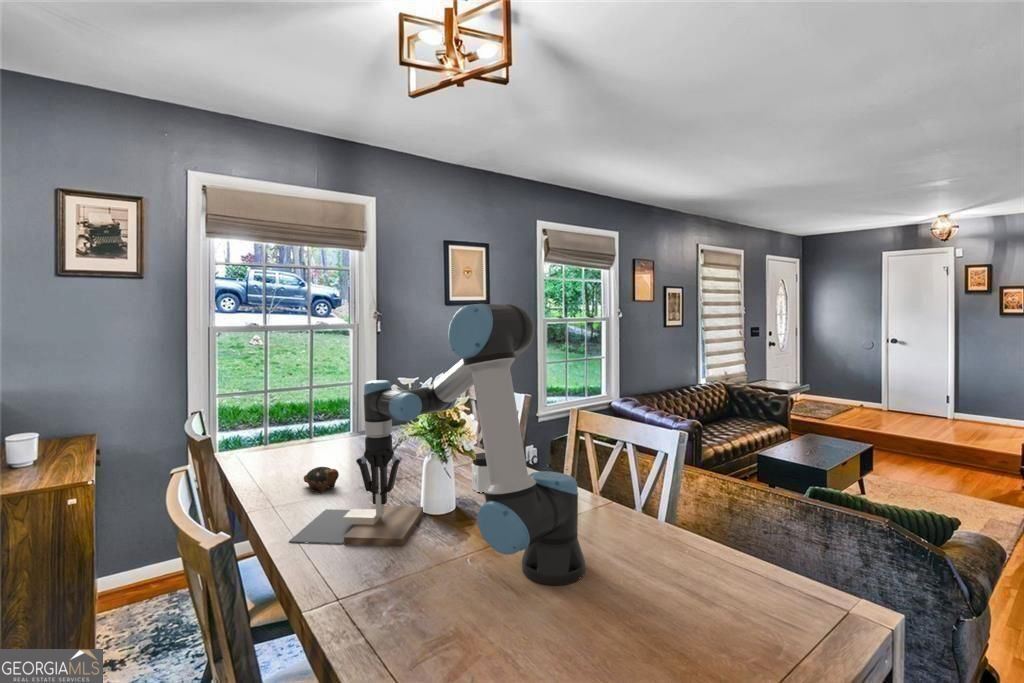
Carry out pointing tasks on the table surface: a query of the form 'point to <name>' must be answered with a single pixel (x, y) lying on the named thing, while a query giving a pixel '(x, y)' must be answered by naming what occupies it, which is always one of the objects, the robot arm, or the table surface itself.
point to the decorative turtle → (321, 478)
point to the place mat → (325, 528)
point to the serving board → (386, 527)
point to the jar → (480, 473)
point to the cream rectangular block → (361, 517)
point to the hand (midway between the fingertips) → (380, 514)
